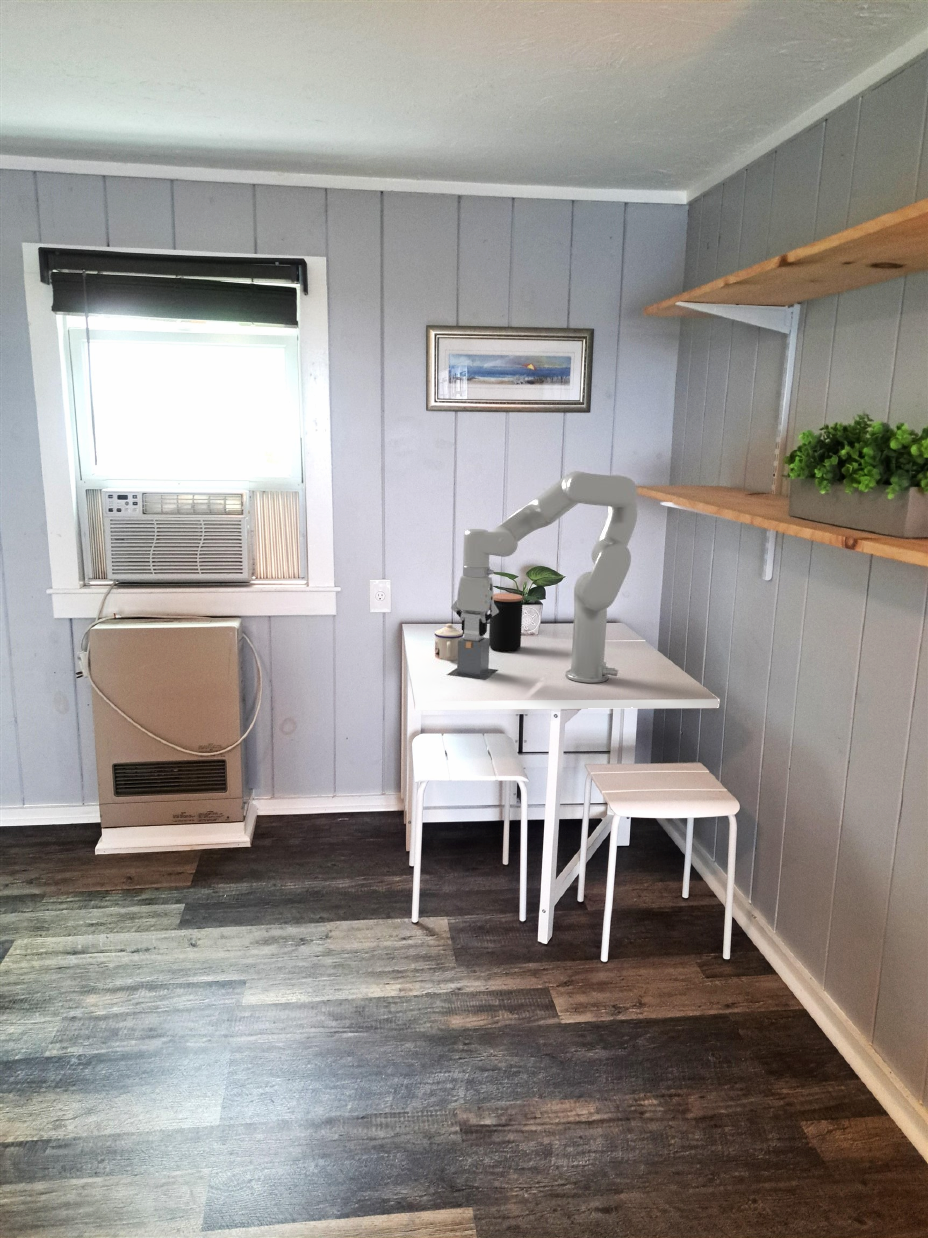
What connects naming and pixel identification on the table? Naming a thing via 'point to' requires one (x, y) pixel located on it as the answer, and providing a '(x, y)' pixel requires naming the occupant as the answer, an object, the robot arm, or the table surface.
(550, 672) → the table surface
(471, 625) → the column
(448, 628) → the teacup with lid
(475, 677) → the stand
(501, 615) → the coffee jar
